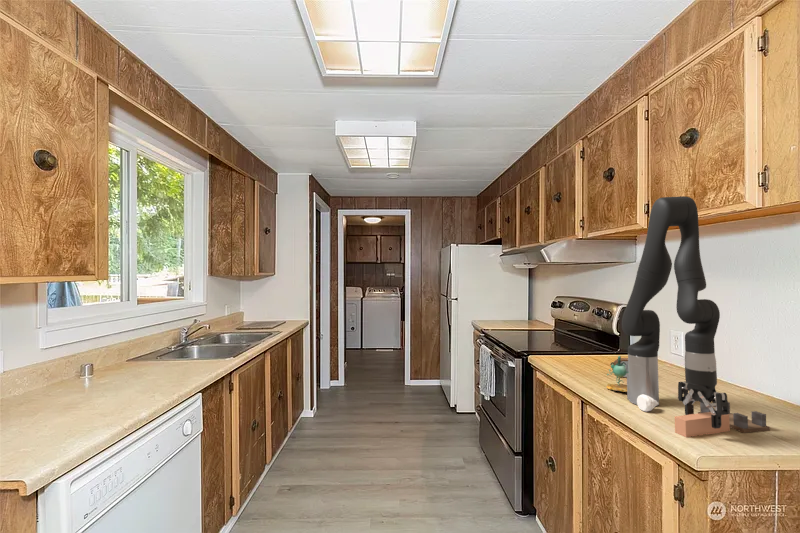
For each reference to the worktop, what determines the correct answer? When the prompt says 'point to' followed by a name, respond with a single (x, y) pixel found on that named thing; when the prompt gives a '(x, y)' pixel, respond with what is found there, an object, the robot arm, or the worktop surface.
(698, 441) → the worktop surface
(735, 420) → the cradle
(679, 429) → the terracotta clay brick
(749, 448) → the worktop surface
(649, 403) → the garlic bulb
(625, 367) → the tin
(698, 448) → the worktop surface
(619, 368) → the frog figurine
